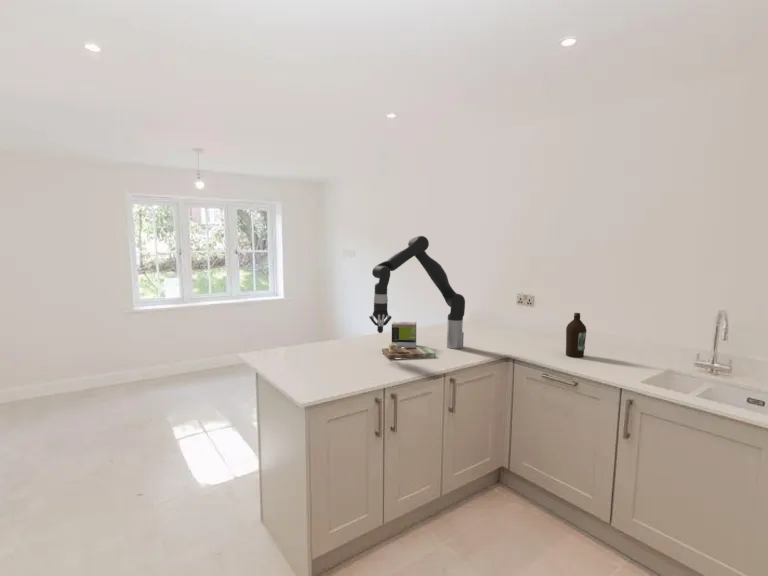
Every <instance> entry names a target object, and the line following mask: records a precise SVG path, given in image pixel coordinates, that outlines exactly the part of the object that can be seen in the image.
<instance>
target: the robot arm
mask: <svg viewBox="0 0 768 576" xmlns="http://www.w3.org/2000/svg"><path fill="white" fill-rule="evenodd" d="M407 243H408V244H407V245H408V246H407V247H406V248H404V249H403V250H400V251H399V252H397V253H395V254H394V255H393V256H392V255H391V257H390V258H388V259H387V260H385V261H382V262H380V263H379V264H377V265H375V266H374V267H373V269H372V272H371V273H372V275H373V277H374V278H375V279H379V280H378V282H377V283H375V284H374V295H373V312H372V314H371V315H369V317H368V318H369V319H370V321H371V322H372V323H373V324H374V326H377V329H376V331H377V333H378V334H382V332H383V331H384V326H387V325H388V323H389V322H390V321H391V320H392V318H393V317H392V316H391V315H389V313H388V302H389V300H388V285H389V283H390V278H391V272H394V271H396V270H397V269H398V268H400V267H401V266H402V265H404V264H405V263H406V262H408V261H409V260H410V259H411V258H414V257H415V259H417V261H418V262H419V263H420V265H421V266H422V268H423V269H424V271H426V274H427V275H428V277H430V279H431V281H432V283H433V284H434V285H435V287H437V289H438V290H439V292H440V293H441V295H442V297H443V299H444V300H445V303H446V305H447V306H449V307H450V312H449V313H448V315H447V327H446V329H447V331H446V348H449V349H456V350H457V349H461V348H464V336H465V335H464V333H465V332H464V331H463V323H464V316H465V311H466V309H465V308H466V300H465V297H464V295H462V294H459V293H457V292H456V291H455V290H454V289H453V287H452V286H451V284H450V281H449V279H448V275H447V273H446V272H445V270H444V268H443V267H442V265H441V264H440V263H439V262H438V261H436V260H435V259H434V258H432V257H431V256H429V255H428V253H427V249H428V248H429V245H430V242H429V239H428V238H427V237H426V236H423V235H419V236H415V237H413V238H410V239H409V240H408V242H407Z"/></svg>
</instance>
